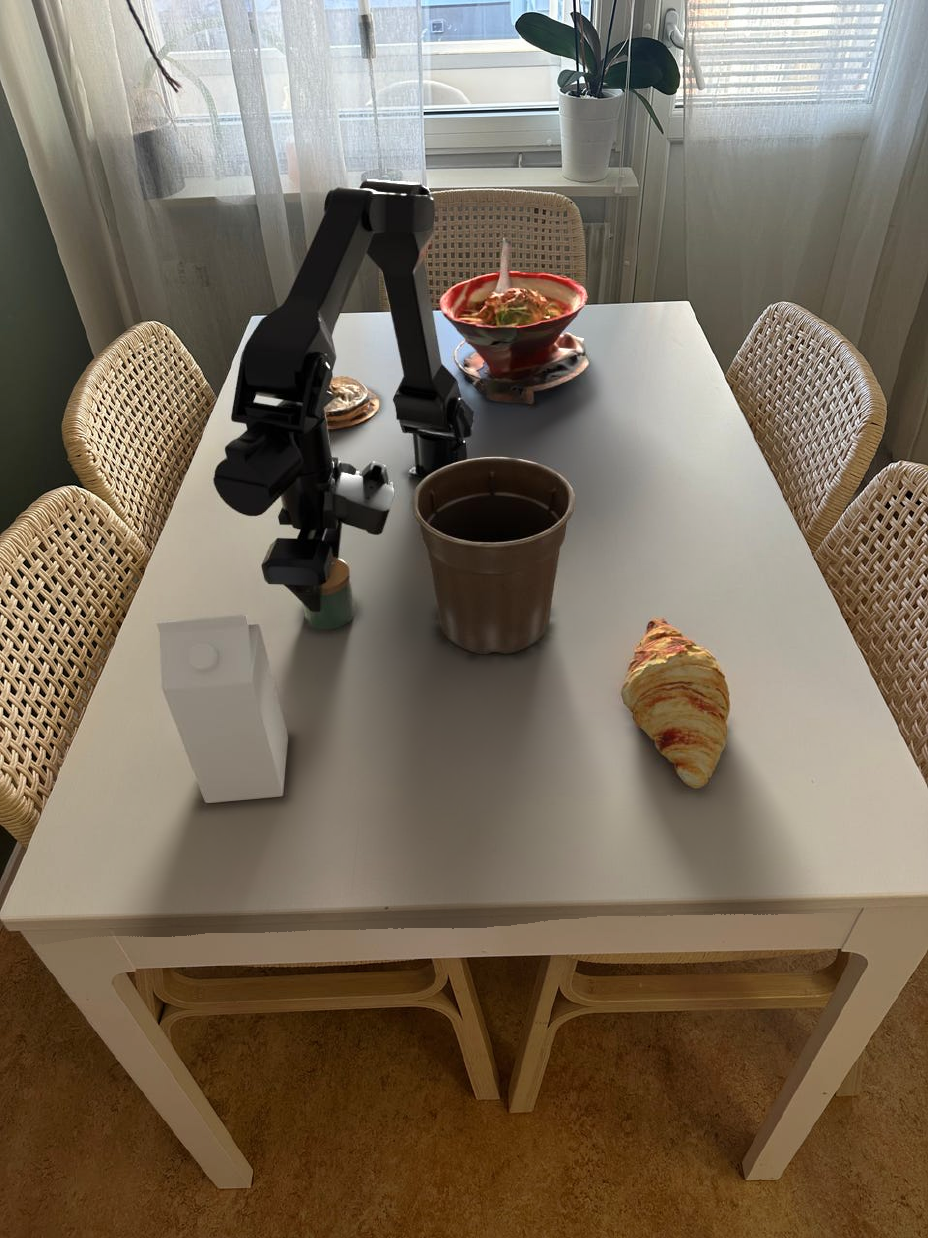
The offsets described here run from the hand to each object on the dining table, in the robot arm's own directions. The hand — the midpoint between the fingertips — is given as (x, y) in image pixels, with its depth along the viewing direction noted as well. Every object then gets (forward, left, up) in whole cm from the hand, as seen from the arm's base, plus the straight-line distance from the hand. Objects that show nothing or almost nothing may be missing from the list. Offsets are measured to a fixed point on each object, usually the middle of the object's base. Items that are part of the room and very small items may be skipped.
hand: (325, 583), depth 96 cm
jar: (0, 0, -4) cm, 4 cm away
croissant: (+39, +4, -4) cm, 39 cm away
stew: (-11, +66, -4) cm, 67 cm away
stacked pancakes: (-30, +40, -4) cm, 50 cm away
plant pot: (+17, +8, -4) cm, 19 cm away
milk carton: (+7, -22, -4) cm, 24 cm away
